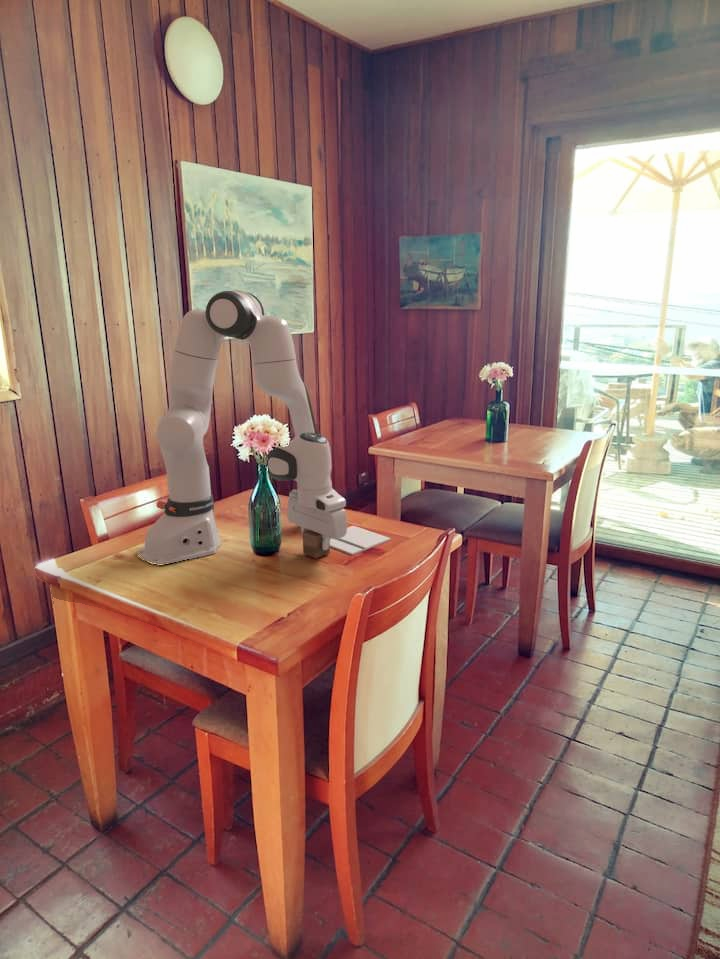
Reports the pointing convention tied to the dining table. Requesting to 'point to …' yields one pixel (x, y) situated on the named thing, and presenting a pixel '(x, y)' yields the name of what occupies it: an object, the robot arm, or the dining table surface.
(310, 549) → the walnut block
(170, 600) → the dining table surface
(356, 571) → the dining table surface
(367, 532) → the board
